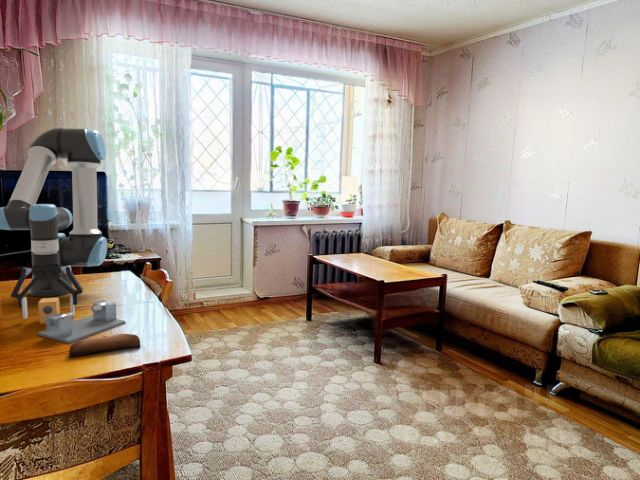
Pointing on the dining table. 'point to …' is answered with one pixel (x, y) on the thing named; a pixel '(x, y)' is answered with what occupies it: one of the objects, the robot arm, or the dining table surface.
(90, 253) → the robot arm
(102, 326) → the board
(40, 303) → the coupler
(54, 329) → the shaft stands
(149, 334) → the dining table surface
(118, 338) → the sunglasses case
